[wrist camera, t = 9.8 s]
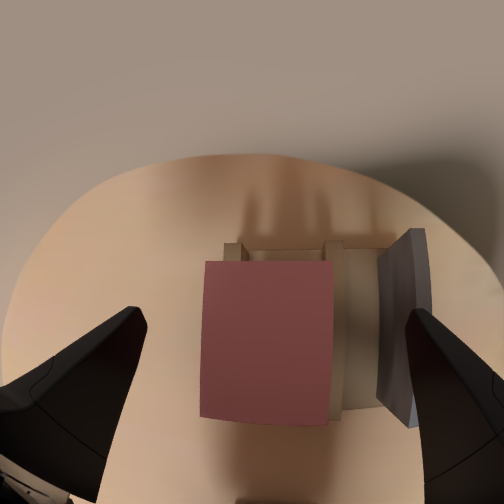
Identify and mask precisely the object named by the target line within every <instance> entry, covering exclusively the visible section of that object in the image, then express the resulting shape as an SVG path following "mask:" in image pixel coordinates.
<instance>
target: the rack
mask: <svg viewBox="0 0 504 504" xmlns="http://www.w3.org/2000/svg"><path fill="white" fill-rule="evenodd" d="M223 261H333V282H334V321H333V355H332V374H331V389H330V402H329V413H328V421H339V420H340V419H341V410H350V409H362V408H372V407H381V406H385V407H386V408H387V409H388V410H389V411H390V412H392V413H393V414H394V415H395V416H396V417H397V418H398V419H399V420H400V421H401V422H402V423H403V424H404V425H405V426H406V427H407V428H413V427H418V426H419V423H418V417H417V410H416V404H415V399H414V393H413V388H412V383H411V378H410V372H409V363H408V355H407V347H406V340H405V326H406V323H407V320H408V317H409V314H410V312H411V310H412V309H414V308H424V309H426V310H427V311H428V312H429V313H430V314H431V315H432V296H431V280H430V268H429V258H428V250H427V242H426V235H425V228H410V229H409V230H408V231H407V232H406V233H404V234H403V235H402V236H401V237H400V238H399V239H398V240H397V241H396V242H395V243H394V244H393V245H392V246H391V247H390V248H378V249H343V241H325V244H324V247H323V249H321V250H266V251H247V250H246V249H245V247H244V246H243V245H242V243H224V258H223Z"/></svg>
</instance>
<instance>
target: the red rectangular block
mask: <svg viewBox="0 0 504 504" xmlns="http://www.w3.org/2000/svg"><path fill="white" fill-rule="evenodd" d="M333 321H334V282H333V261H206V263H205V278H204V294H203V312H202V334H201V365H200V417H205V418H211V419H218V420H225V421H233V422H243V423H253V424H267V425H289V426H325V425H327V423H328V413H329V402H330V389H331V374H332V355H333Z"/></svg>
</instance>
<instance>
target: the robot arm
mask: <svg viewBox="0 0 504 504" xmlns="http://www.w3.org/2000/svg"><path fill="white" fill-rule="evenodd" d="M147 328H148V327H147V322H146V320H145V318H144V316H143V313H142V311H141V309H140V308H139V307H135V306H128V307H126V308H125V309H123V310H122V311H120V312H119V313H117V314H116V315H114V316H113V317H111V318H110V319H108V320H107V321H105V322H103V323H102V324H100V325H99V326H97V327H96V328H94V329H93V330H91V331H90V332H88V333H87V334H85V335H84V336H82V337H81V338H79V339H78V340H76V341H75V342H73V343H72V344H70V345H69V346H68V347H66V348H65V349H63V350H62V351H60V352H59V353H57V354H56V355H55V356H53V357H51V358H50V359H48V360H47V361H45V362H44V363H42V364H41V365H39V366H38V367H36V368H35V369H33V370H31V371H30V372H28V373H26V374H24V375H23V376H21V377H19V378H18V379H16V380H14V381H12V382H11V383H9V384H7V385H5V386H2V387H0V504H74V503H73V501H72V499H70V498H69V496H70V494H72V495H75V496H77V497H79V498H82V499H84V500H87V501H89V502H92V503H96V500H97V497H98V492H99V488H100V484H101V480H102V477H103V473H104V469H105V466H106V462H107V458H108V454H109V451H110V448H111V444H112V441H113V438H114V434H115V431H116V428H117V425H118V422H119V418H120V415H121V412H122V409H123V406H124V403H125V400H126V398H127V395H128V392H129V389H130V386H131V383H132V380H133V378H134V375H135V372H136V369H137V366H138V363H139V359H140V356H141V352H142V348H143V344H144V340H145V337H146V333H147ZM405 340H406V347H407V355H408V363H409V372H410V378H411V383H412V388H413V393H414V399H415V404H416V410H417V417H418V423H419V430H420V438H421V447H422V457H423V470H424V483H425V484H424V497H425V504H504V380H503V379H502V378H501V377H500V376H499V375H498V374H497V373H496V372H495V371H493V370H492V369H491V368H490V367H489V366H488V365H487V364H486V363H485V362H484V361H483V360H482V359H481V358H480V357H479V356H478V355H477V354H476V353H475V352H473V351H472V350H471V349H470V348H469V347H468V346H467V345H466V344H465V343H464V342H463V341H461V340H460V339H459V338H458V337H457V336H456V335H455V334H454V333H452V332H451V331H450V330H449V329H448V328H447V327H446V326H444V325H443V324H442V323H441V322H440V321H439V320H437V319H436V318H435V317H434V316H433V315H431V314H430V313H429V312H428V311H427V310H426V309H424V308H414V309H412V310H411V312H410V314H409V317H408V320H407V323H406V326H405Z"/></svg>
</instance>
